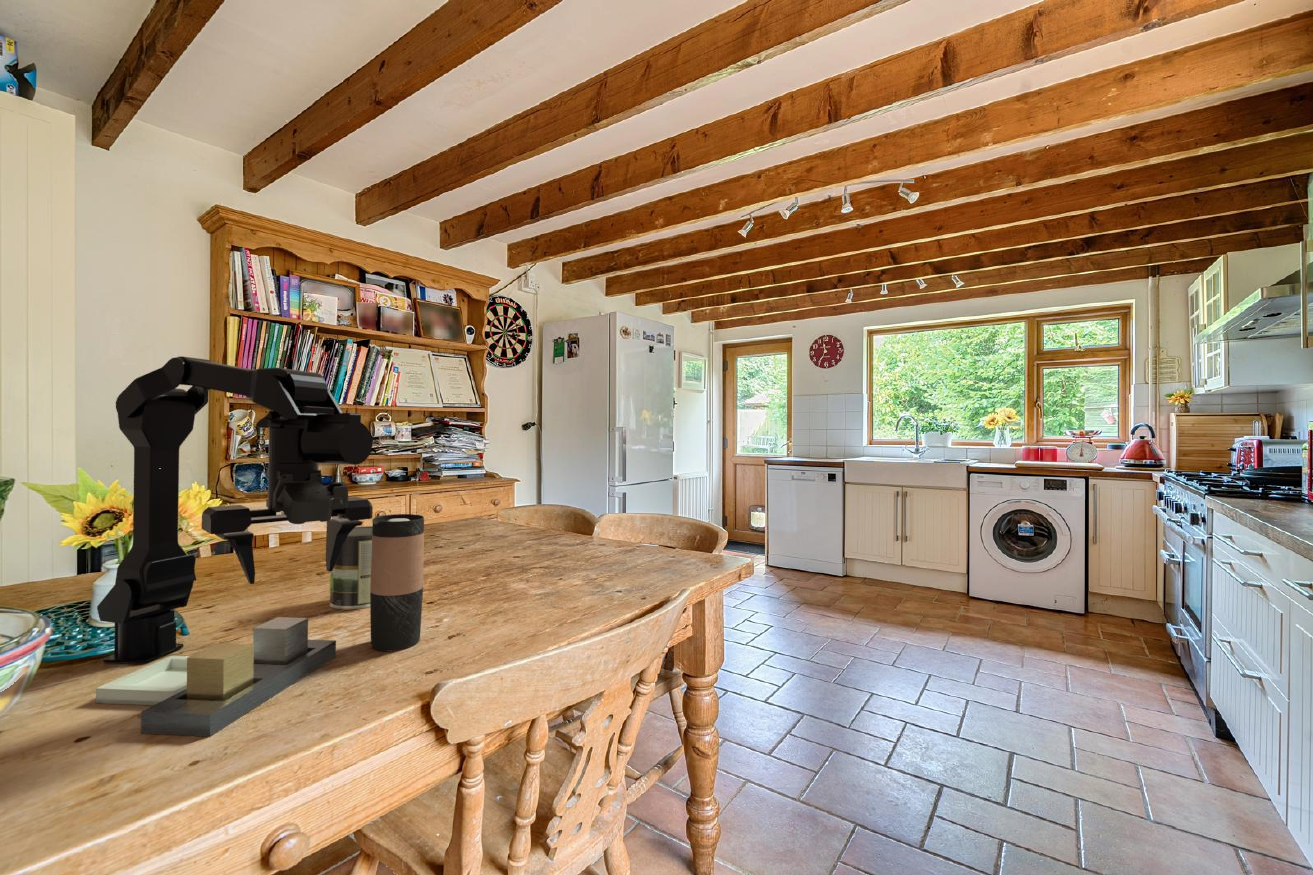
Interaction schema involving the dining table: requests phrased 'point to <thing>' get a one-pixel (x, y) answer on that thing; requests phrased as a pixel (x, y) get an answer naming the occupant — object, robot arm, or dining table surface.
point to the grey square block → (280, 641)
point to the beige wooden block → (220, 672)
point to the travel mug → (396, 581)
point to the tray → (147, 683)
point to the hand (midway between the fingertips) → (292, 577)
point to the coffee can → (352, 572)
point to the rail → (215, 715)
